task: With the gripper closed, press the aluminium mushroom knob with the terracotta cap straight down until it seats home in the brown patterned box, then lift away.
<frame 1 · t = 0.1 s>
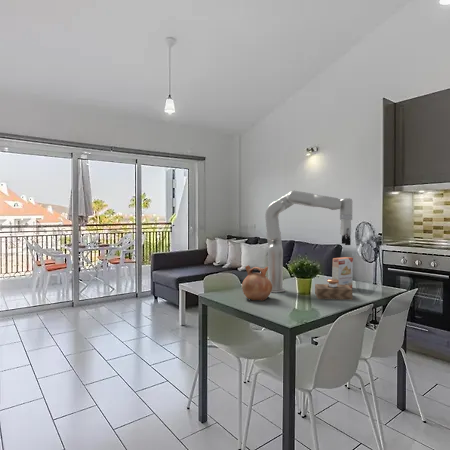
hand: (346, 244, 226), 31 cm above the table, fingers open, 9 cm apart
knob: (333, 285, 217), point 7 cm above the table, slide at 0.0 cm
cracker box: (342, 288, 239), on the table
jug: (257, 298, 214), on the table
brown patterned box: (332, 296, 217), on the table
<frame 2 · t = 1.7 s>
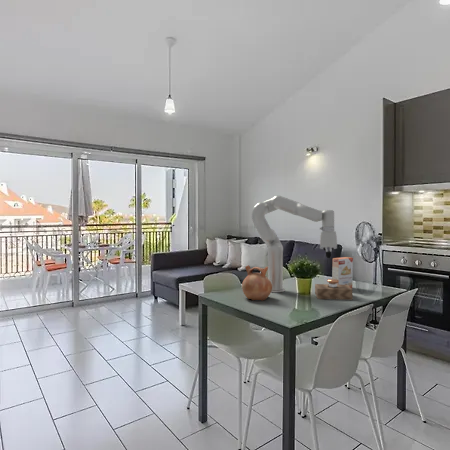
hand: (328, 257, 226), 23 cm above the table, fingers closed
nothing on the table moved.
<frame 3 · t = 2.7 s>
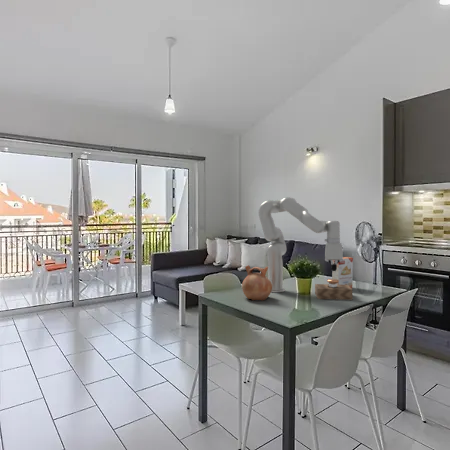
hand: (334, 270, 216), 16 cm above the table, fingers closed
nothing on the table moved.
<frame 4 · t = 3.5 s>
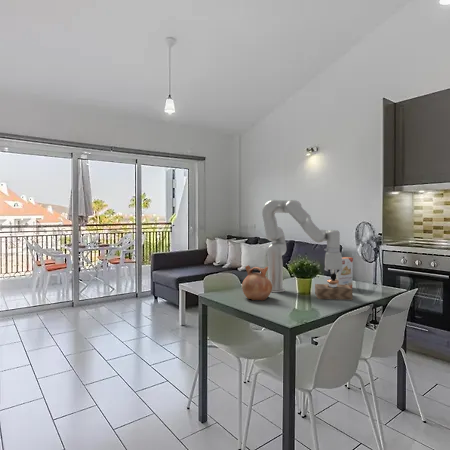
hand: (333, 280, 217), 10 cm above the table, fingers closed
knob: (333, 285, 217), point 7 cm above the table, slide at 0.2 cm, touching gripper
everything else where it was.
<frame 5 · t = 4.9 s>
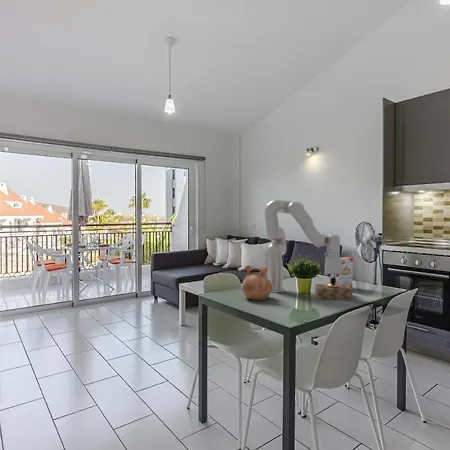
hand: (333, 284, 217), 7 cm above the table, fingers closed
knob: (332, 290, 217), point 4 cm above the table, slide at 2.9 cm
everything else where it was.
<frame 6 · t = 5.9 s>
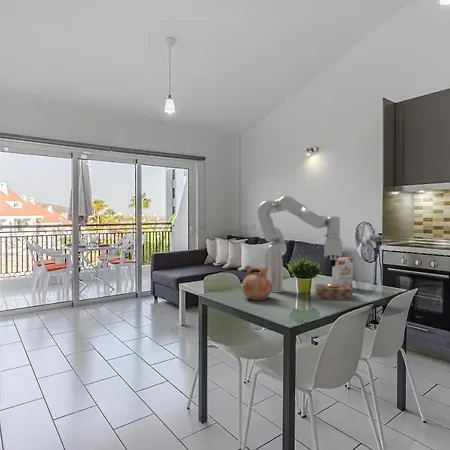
hand: (332, 266, 217), 19 cm above the table, fingers closed
nothing on the table moved.
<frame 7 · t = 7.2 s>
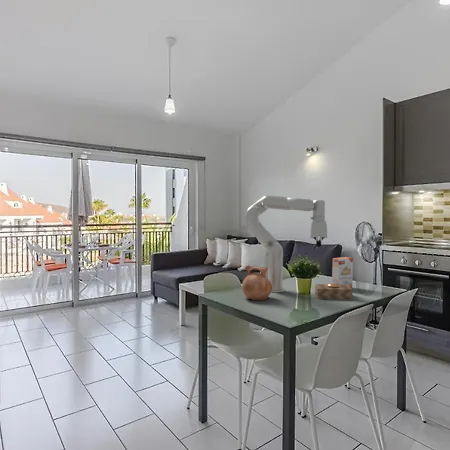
hand: (318, 246, 231), 29 cm above the table, fingers closed
nothing on the table moved.
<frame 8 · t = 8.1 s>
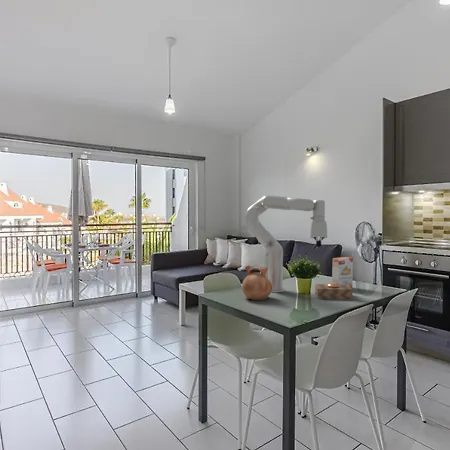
hand: (318, 246, 231), 29 cm above the table, fingers closed
nothing on the table moved.
at the end: knob slide at 2.9 cm; cracker box moved 0.2 cm from its start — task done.
